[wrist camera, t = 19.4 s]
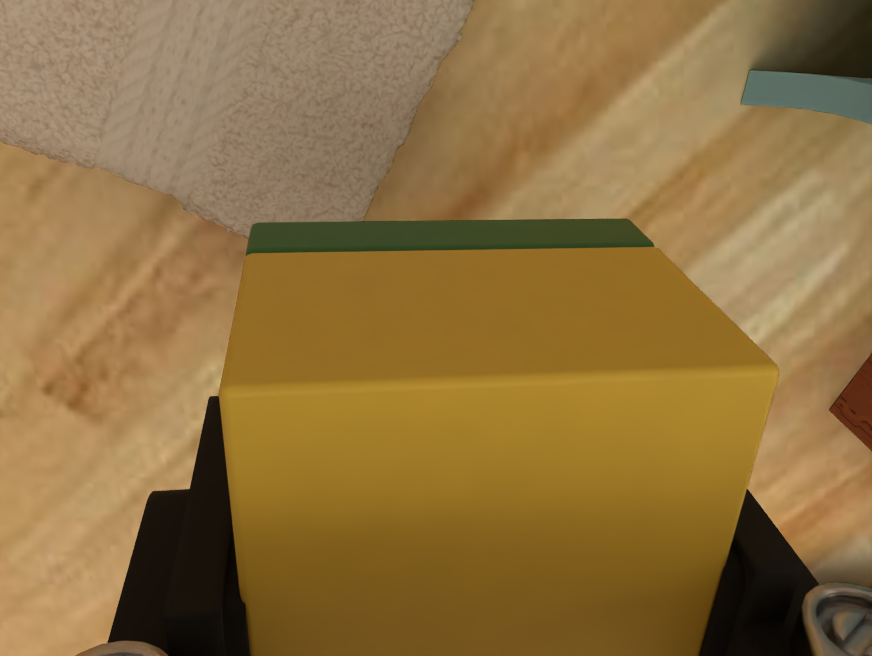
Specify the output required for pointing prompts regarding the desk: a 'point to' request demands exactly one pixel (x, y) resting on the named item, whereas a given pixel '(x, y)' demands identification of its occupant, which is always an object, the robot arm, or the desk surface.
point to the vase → (811, 93)
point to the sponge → (482, 440)
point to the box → (857, 405)
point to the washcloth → (226, 96)
